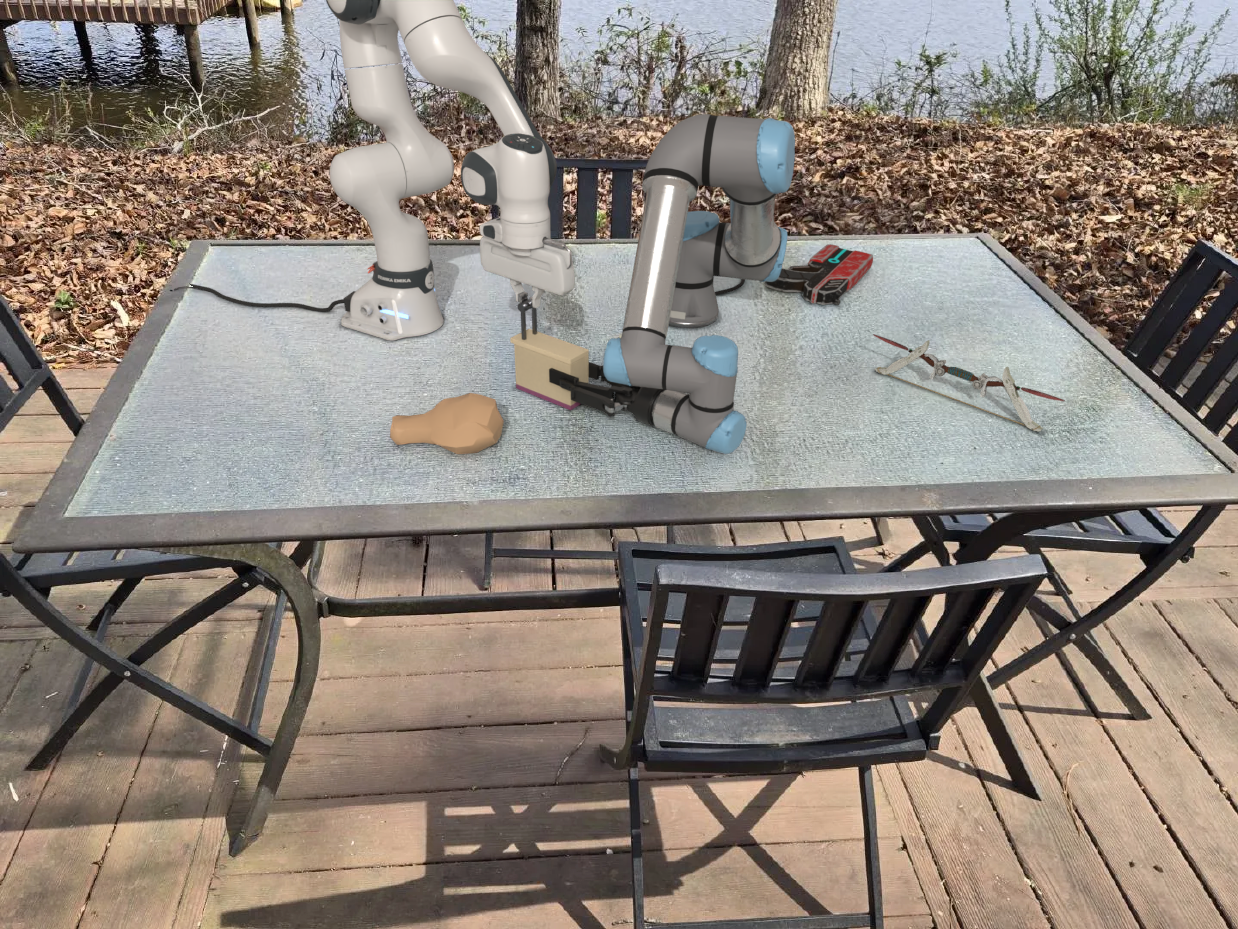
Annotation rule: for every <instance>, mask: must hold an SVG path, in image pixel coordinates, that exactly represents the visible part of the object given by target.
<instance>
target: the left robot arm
mask: <svg viewBox="0 0 1238 929" xmlns="http://www.w3.org/2000/svg"><path fill="white" fill-rule="evenodd" d="M325 2H326V4H327V6H328V8H329V10H330V11H331V12H332V14H333V15H334V16H335V18H337V19H338V20H339V41H340V51H341V59H342V63H343V69H344V74H345V79H346V83H347V89H348V94H349V98H350V103H351V107H352V109H353V111H354V113H355V114H356V115H357V116H358V117H359V118H360V119H362V120H363V121H366V122H367V123H369V124H372V125H374V126H378V127H379V128H380V129H381V131H382V132H383V134H384V137H385V141H386V142H383V143H374V144H368V145H362V146H361V145H360V146H355V147H352V148H350V149H348V150H345V151H343V152H340V153H338V154H336V155H335V156H333V158H332V161H331V162H330V166H329V182H330V185H331V187H332V189H333V191H334V193H335V194H336V196H337V197H338V198H339V199H340V200H341V201H342V202H344V203H346V204H347V205H349V206H351V207H353V208H354V209H355V210H357V211H358V212H359V213H360V214H361V215H362V216H363V218H364V220H366V222H367V224H368V226H369V228H370V230H371V234H372V238H373V239H372V240H373V243H374V248H375V253H376V254H375V255H376V261H374V262H373V263H372V265H371V266H369V267H368V268H367V274H370V273H372V277H371V278H370V279H369V280H367V282H365V283H364V284H363V285H362V286H360V287H359V288H358V289H356V290H353V291H352V292H350V293H348V295H346V296H344V297H343V298H341V299H336V300H334V301H332V302H330V304H329V306H327V307H315V306H312V305H308V304H303V303H299V302H298V303H296V302H251V301H245V300H241V299H238V298H234V297H230V296H228V295H226V294H225V295H224V294H223V293H221V292H219V291H217V290H215V289H214V288H211V287H208V286H203V285H198V284H194V283H189V284H190V285H191V286H193V287H188V288H189V289H195V290H200V291H203V292H209V293H211V294H213V295H215V296H216V297H218V298H220V299H222V300H224V301H227V302H230V303H234V304H237V305H241V306H245V307H246V306H247V307H252V308H253V307H254V308H298V309H304V310H307V311H312V312H318V313H327V312H331V311H332V310H333V309H334V308H335V307H336V306H337V305H341V304H343V306H344V312H346V313H344V314H343V316H342V317H341V320H340V324H341V326H342V327H344V328H347V329H350V330H354V331H357V332H360V333H364V334H367V335H370V336H373V337H377V338H380V339H383V340H387V341H396V340H397V341H398V340H401V339H404V338H412V337H420V336H423V335H427V334H430V333H431V334H432V333H434V332H436V331H437V330H439V329H441V327H442V326H443V325H444V323H445V320H444V317H443V314H442V312H441V310H440V307H439V303H438V300H437V296H436V288H435V271H434V264H433V260H432V259H431V253H430V243H429V232H428V229H427V226H426V225H425V223H424V222H423V221H422V220H421V219H420V218H419V217H417V216H415V215H412V214H409V213H407V212H404V211H402V210H401V207H400V200H402V199H406V198H412V197H417V196H418V197H419V196H423V195H428V194H432V193H434V192H436V191H439V190H441V189H443V188H445V187H448V186H449V185H450V183H451V182H452V180H453V177H454V173H455V162H454V158H453V154H452V153H451V151H450V149H449V148H448V146H447V145H446V144H445V143H444V142H443V141H442V140H440V139H439V138H437V137H436V136H434V135H433V134H432V133H430V132H429V131H428V130H427V129H426V128H425V126H424V125H423V124H422V122H421V120H420V119H419V118H418V116H417V114H416V112H415V109H414V107H413V104H412V101H411V97H410V93H409V90H408V89H409V88H408V85H407V84H408V83H407V80H406V75H405V70H404V64H403V59H402V54H401V50H400V45H399V40H398V38H399V37H398V35H399V34H400V36H401V39H402V42H403V44H404V47H405V49H406V52H407V54H408V56H409V59H410V61H411V62H412V65H413V67H414V68H415V70H416V71H417V72H418V73H419V75H420V76H421V77H422V78H423V79H425V80H426V81H428V82H429V83H431V84H433V85H435V86H437V87H440V88H443V89H448V90H453V91H457V92H460V93H463V94H465V95H469V96H471V97H473V98H475V99H477V100H478V101H479V102H481V103H483V105H485V106H486V107H487V109H488V110H489V112H490V113H491V116H492V117H493V119H494V120H495V122H496V125H497V126H498V127H499V130H500V131H501V133H502V134H503V136H502V137H501V138H500V140H498V142H496V143H494V144H492V145H489V146H484V147H480V148H476V149H474V150H472V151H469V152H467V154H466V155H465V156H464V158H463V160H462V163H461V165H460V166H461V168H460V181H461V185H462V189H463V191H464V192H465V194H466V195H467V197H469V199H471V200H472V201H473V202H475V203H477V204H479V205H484V206H498V207H499V209H500V214H499V217H497V218H494V219H491V220H488V221H486V222H484V223H482V224H480V225H479V233H480V235H481V236H482V237H481V238H480V241H479V255H480V256H479V257H480V264H481V268H483V270H484V271H485V272H488V273H491V274H494V275H497V276H499V277H503V278H506V279H508V280H509V285H510V286H511V288H512V290H513V293H514V294H515V302H516V303H518V304H519V303H521V302H523V301H525V300H528V299H529V306H531V307H534V308H536V309H538V308H540V306H541V305H542V297H543V295H544V293H545V291H546V292H548V293H551V294H554V295H558V296H564V295H566V294H569V293H570V292H573V290H574V289H575V287H576V276H575V266H574V262H573V252H572V250H571V249H570V248H569V247H568V246H567V244H566V243H565V242H562V241H557V240H555V239H553V238H551V237H552V236H551V235H552V234H551V233H552V232H551V230H552V229H551V211H550V208H549V196H550V193H551V192H550V191H551V187H552V186H553V184H554V182H555V179H556V176H557V173H558V172H557V171H558V170H557V169H558V164H557V163H558V162H557V160H556V156H555V154H554V152H553V150H552V148H551V146H549V144H548V143H547V142H546V141H545V139H544V138H543V137H542V136H541V134H540V133H539V131H538V130H537V128H536V126H535V125H534V123H533V121H532V120H531V118H530V116H529V114H528V113H527V111H526V110H525V107H524V106H523V104H522V102H521V100H520V98H519V96H518V95H517V93H516V91H515V89H514V88H513V86H512V84H511V82H510V80H509V79H508V77H507V76H506V73H505V72H504V70H503V69H502V67H500V65H499V63H498V62H497V61H496V60H495V59H494V58H493V57H492V56H490V55H488V54H487V53H486V52H485V51H484V50H483V49H482V48H481V46H479V45H478V43H477V42H476V41H475V40H474V38H473V36H472V34H470V32H469V30H468V29H467V27H466V24H465V22H464V21H463V18H462V16H461V14H460V11H459V9H458V7H457V5H456V2H455V1H454V0H325ZM523 284H524V285H526V286H530V287H531V288H532V289H531V290H532V292H534V293H533V295H532V296H530V297H528V296H529V294H528V293H529V292H527V291H525V289H524V286H523Z"/></svg>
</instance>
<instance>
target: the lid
mask: <svg viewBox="0 0 1238 929" xmlns="http://www.w3.org/2000/svg"><path fill="white" fill-rule="evenodd" d="M517 309H518V311H519V312H520V330H521V332H519V333H518V334H515V335H513V336H511V337H510V340H509V341H510V343H511V344H513V345H514V344H516V345H518V346H521V347H524V348H527V349H529V350H532V351H535V352H537V353H540V354H543V355H545V356H548V357H551V358H554V359H556V360H559V361H562V362H564V363H567V364H570V365H571V364H572V363H574V362H576V361H578V360H580V359H581V358H583V357H585V356H587V355H589V354H590V350H589V349H588V348H585V347H583V346H579V345H577V344H575V343H572V342H568V341H567V340H566V341H565V340H563V339H560V338H558V337H554V336H552V335H549V334H546V333H543V332H541V331H538V313H537V312H538V311H537V309H538V308H534V307H531V306H529V298H528V300H525V301H523V302H521V303H519V302H518V304H517ZM529 310H531V328H527V318H526V317H527V316H526V311H529Z"/></svg>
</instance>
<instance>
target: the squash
mask: <svg viewBox="0 0 1238 929" xmlns="http://www.w3.org/2000/svg"><path fill="white" fill-rule="evenodd" d="M498 408H499V407H498V404H497V399H495V398H492V397H489V396H485V395H483V394H480V393H473V392H469V393H465V394H462V395H458V396H454V397H447V398H443V399H442V400H441V401H439V402H438V403H436V405H435V406H433V408H432V409H430V410H428V411H427V412H425V413H419V414H412V415H411V414H410V415H406V414H405V415H403V414H402V415H401V414H397V415H394V416H392V417H391V426H390V428H389V429H390V431H389V438H390V439H391V440H392V441H393V443H394V444H395V445H397V446H401V445H407V444H422V443H423V444H431V445H437V446H439V447H441V448H442V449H444V450H446V451H449V452H451V453H454V454H456V455H467V454H477V453H479V452H481V451H483V450H485V449H488V448H489V447H491V446H493V445H495V444H497V443H498V441H499V440H500V438H501V436H502V433H503V427H504V422H505V420H504V419H503V416H502V415H501V413H500V411H499V409H498Z"/></svg>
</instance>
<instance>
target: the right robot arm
mask: <svg viewBox="0 0 1238 929" xmlns="http://www.w3.org/2000/svg"><path fill="white" fill-rule="evenodd" d="M795 135H796V134H795V130H794V127H793V126H792V124H791V123H790V122H789V121H785V120H777V119H775V118H773V117H772V118H771V117H769V118H758V117H757V118H756V117H755V118H754V117H741V116H729V115H715V114H710V113H702V114H695V115H693V116H690V117H687V118H685V119H683V120H681V121H680V122H678V123H677V124H675V125H674V126H673V127H672V128H670V129H669V130H668V131H667V132H666V133H665V135H663V137H661V139H660V140H659V142H658V143H657V144H656V146H655V148H654V149H653V151H652V152H651V155H650V156H649V158H648V161H647V163H646V166H645V170H644V173H643V178H642V184H641V189H642V191H643V192H644V194H645V200H644V206H643V211H642V218H641V222H640V227H639V228H640V229H639V233H638V234H639V235H638V240H637V246H636V251H635V256H634V262H633V263H634V264H633V269H632V274H631V280H630V286H629V291H628V296H627V302H626V308H625V313H624V319H623V325H622V332H621V336H620V337H611V338H610V339H609V340H608V341H607V343H606V345H605V346H606V347H605V349H604V353H603V360H602V365H600V364H597V363H594V362H589V378H590V379H593V380H595V381H598V380H599V379H600V383H604V382H605V383H607V384H609V385H610V386H604V385H599V384H594V383H590V382H589V383H585V382H580V381H579V378H578V377H575V376H572V375H569V374H566V373H564V372H561V371H559V370H556V369H553V368H550V369H549V382H551V383H553V384H556V385H558V386H560V387H561V388H563V389H566V390H569V391H571V400H572V401H575V402H578V403H580V405H583V406H586V407H589V408H592V409H593V410H597V411H599V412H601V413H602V412H603V413H604V414H605V415H606V416H607V417H610V418H611V417H615V416H616V415H615V414H616V413H615V412H617V411H618V412H619V411H622V412H628V413H631V414H632V415H633V416H634V418H635V419H636V420H637V421H638V422H640V423H643V424H645V425H648V426H651V427H655V428H656V429H658V430H662V431H664V432H666V433H669V434H672V435H674V436H677V437H679V438H682V439H684V440H686V441H689V442H691V443H694V444H696V445H698V446H700V447H703V448H705V450H710V451H713V452H716V453H721V454H724V455H729V454H732V453H733V452H734V451H736V450H737V449H738V448H739V447H740V445H741V443H742V442H743V440H744V437H745V436H746V431H747V426H748V425H747V424H748V423H747V421H746V420H747V418H746V416H745V415H744V414H742V413H741V412H739V411H738V410H734V407H735V402H734V400H735V392H736V384H737V377H738V376H737V375H738V372H739V370H738V369H739V367H738V365H739V364H738V362H739V360H738V359H739V348H738V346H737V343H735V342H734V340H732V339H731V338H729V337H727V336H723V335H718V334H712V335H702V336H700V337H697V338H696V339H695V340H694V342H693V345H692V347H690V346H680V345H675V344H674V345H673V344H666V340H667V336H668V332H669V326H671V327H675V328H680V329H681V328H682V329H697V328H704V327H707V326H710V325H713V324H714V323H715V322H716V321H717V320H718V319H719V304H718V300H717V296H719V295H720V296H721V295H724V294H729V293H732V292H735V291H737V290H739V289H741V288H742V287H743V285H744V284H745V282H746V280H747V281H757V282H760V283H765V281H768V282H773V281H776V280H777V279H778V277H779V275H780V273H781V269H782V268H783V264H784V262H785V261H784V260H785V256H786V251H787V244H788V230H787V229H786V228H783V227H780V226H778V225H777V224H776V222H775V204H776V203H775V202H776V196H777V195H779V194H784V193H786V192H788V190H789V189H790V187H791V185H792V180H793V177H794V169H795V159H796V158H795V157H796V153H795V148H796V136H795ZM700 186H703V187H711V188H721V189H722V192H723V193H724V194H725V196H726V197H727V198H728V199H729V215H730V217H729V218H730V222H721V221H720V220H721V219H720V217H719V215H718V214H717V213H716V212H711V211H709V210H691V211H689V207H690V202H692V201H693V200H695V199H696V197H697V195H698V190H699V187H700ZM715 277H719V278H728V279H738V280H740V281H739V283H738V284H736V285H735V286H732V287H728V288H726V289H721V290H716V291H715V287H714V278H715Z"/></svg>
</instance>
